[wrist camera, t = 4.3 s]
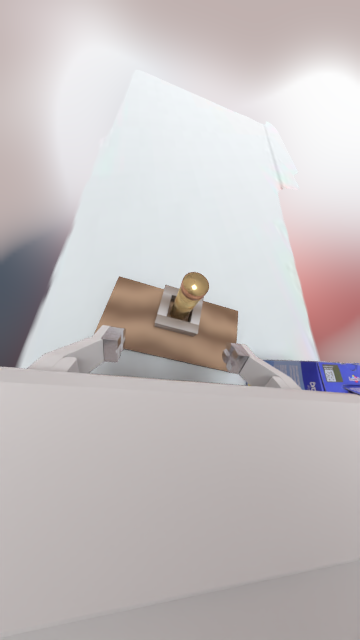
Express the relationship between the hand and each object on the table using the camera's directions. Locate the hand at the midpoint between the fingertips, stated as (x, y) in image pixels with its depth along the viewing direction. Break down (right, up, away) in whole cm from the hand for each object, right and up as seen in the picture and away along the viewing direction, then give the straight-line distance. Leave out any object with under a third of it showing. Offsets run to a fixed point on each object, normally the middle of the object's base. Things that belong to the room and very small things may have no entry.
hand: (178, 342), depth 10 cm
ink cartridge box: (+17, -9, +16) cm, 25 cm away
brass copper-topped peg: (0, +3, +14) cm, 14 cm away
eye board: (-1, +1, +14) cm, 14 cm away
